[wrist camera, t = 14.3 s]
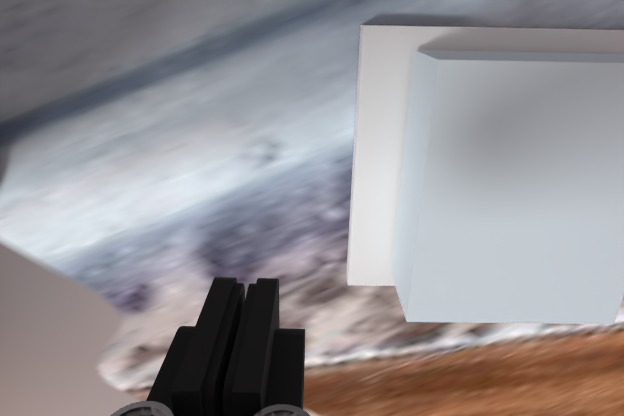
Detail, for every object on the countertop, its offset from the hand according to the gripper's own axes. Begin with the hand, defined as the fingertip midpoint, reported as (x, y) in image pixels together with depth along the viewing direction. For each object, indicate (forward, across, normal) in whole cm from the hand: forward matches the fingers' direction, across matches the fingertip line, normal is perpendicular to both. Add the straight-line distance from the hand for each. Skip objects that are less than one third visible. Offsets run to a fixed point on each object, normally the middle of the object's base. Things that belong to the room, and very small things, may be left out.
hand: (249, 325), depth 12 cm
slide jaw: (+13, -11, 0) cm, 17 cm away
